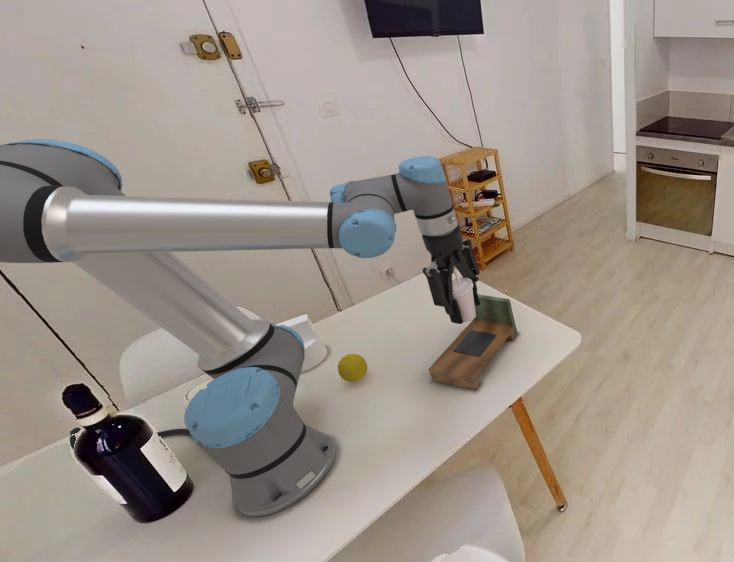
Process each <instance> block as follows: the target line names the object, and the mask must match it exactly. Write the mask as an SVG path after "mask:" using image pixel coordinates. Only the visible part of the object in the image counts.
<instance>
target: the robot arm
mask: <svg viewBox="0 0 734 562" xmlns="http://www.w3.org/2000/svg"><path fill="white" fill-rule="evenodd" d="M122 190H123V177H122V175H121V173H120V171H119V169H118V168H117V166H115V165H114V163H112V162H111V161H110V160H109V159H108V158H107V157H105V156H104V155H102V154H101V153H98V152H96V151H95V150H93V149H91V148H88V147H86V146H83V145H80V144H77V143H73V142H67V141H63V140H58V139H50V138H49V139H48V138H32V139H31V138H30V139H22V140H18V141H13V142H12V141H11V142H9V143H4V144H0V263H3V264H5V263H7V264H52V263H73V264H74V265H76V266H77V268H80V269H81V270H82V271H84V272H85V273H87V274H88V275H89V276H90V277H92V278H93V279H95V280H96V281H97V282H98V283H100V284H102V285H103V286H104V287H106V288H107V289H108V290H110V291H111V292H113V293H114V294H115V295H116V296H118V297H119V298H121V299H123V301H125V302H126V303H128V304H130V306H132V307H133V308H134V309H136V310H137V311H138V312H140V313H141V314H143V315H144V316H146V317H147V318H148V319H150V321H152V322H154V323H155V324H156V325H157V326H159V327H161V328H162V329H163V330H165V331H166V332H167V333H169V334H170V335H172V337H174V338H176V339H177V340H178V341H180V342H181V343H182V344H184V345H185V346H186V347H188V348H189V349H190V350H192V351H193V352H195V354H198V355H199V356H198V359H197V363H196V366H197V368H198V369H199V370H201V371H202V372H204V373H205V374H206V375H208V376H209V377H211V378H212V379H213V380H211V381H210V382H208V383H207V384H206V387H205V388H202V389H199V391H197V392H196V394H194V396H193V397H191V399H190V401H189V402H188V404H187V406H186V408H185V412H184V417H183V419H184V424H185V427H186V428H174V429H167V430H162V431H158V432H156V433H157V434H158V436H159V437H164V436H168V435H178V434H179V435H188V436H191V437H192V439H193V440H194V441H195V443H197V444H198V445H200V446H201V447H202V448H203V449H204V450H205V451H206V453H208V454H209V456H210V457H211V458H212V459H213V460H214V461H215V462H216V463H217V464H218V465H219V466H220V468H222V469H223V471H224V472H226V474H227V475H228V476H229V482H230V488H231V489H230V491H231V495H232V496H231V497H232V502H233V504H234V505H235V507H236V508H237V509H238V510H239V511H240V513H242V514H243V515H245V516H249V517H254V518H257V517H259V518H260V517H265V516H270V515H273V514H276V513H279V512H281V511H283V510H285V509H287V508H289V507H291V506H293V505H294V504H296V503H297V502H299V501H300V500H302V499H304V498H305V497H306V496H308V495H309V494H310V493H311V492H312V491H313V490H314V489H315V488H316V487H318V485H319V484H320V483H321V482H322V481H323V480H324V478H325V477H326V476H327V474H328V473H329V472H330V470H331V468H332V466H333V463H334V460H335V458H336V448H335V447H336V446H335V445H334V443H333V442H332V440H331V438H330V436H328V435H327V434H325V433H323V432H321V431H319V430H317V429H315V428H313V427H310V426H309V425H307V424H305V422H304V421H303V419H302V418H301V416H300V414H299V413H298V412H297V410H296V409H295V406H294V401H295V397H296V393H297V388H298V384H299V380H300V376H301V373H302V372H301V369H302V365H303V361H304V358H305V351H304V342H303V340H302V338H301V336H300V335H299V334H298V333H297V332H296V331H295V330H293V329H291V328H289V327H287V326H284V325H280V326H277V325H276V323H270V322H269V321H268V320H267V319H259V318H257V319H251V318H250V317H249V316H248V315H246V314H245V313H244V312H243V311H241V310H240V309H239V308H238V307H237V306H236V305H234V303H232V302H231V301H230V300H229V298H226V297H225V296H224V295H223V294H222V293H221V292H220V291H218V290H217V289H216V288H215V287H214V286H212V284H210V283H209V282H208V281H207V280H205V279H204V278H203V277H202V276H201V275H199V274H198V272H196V271H195V270H194V269H193V268H192V267H191V266H189V265H188V264H187V263H186V262H184V260H182V259H181V258H180V257H179V256H178V255H177V254H176V253H177V252H179V253H181V252H220V251H221V252H223V251H224V252H225V251H267V250H269V251H270V250H271V251H272V250H274V251H275V250H312V249H315V250H317V249H318V250H319V249H338V250H339V249H342V250H343V251H345V252H346V253H347V254H349V255H351V256H354V257H357V258H360V259H373V258H376V257H379V256H382V255H384V254H385V253H387V252H388V251H389V250H390V249H391V248H392V246H393V244H394V241H395V237H396V232H397V224H396V221H395V220H396V219H395V215H396V214H397V215H398V214H401V213H406V212H408V211H413V215H414V217H415V220H416V223H417V226H418V230H419V232H420V234H421V238H422V241H423V245H424V247H425V249H426V251H427V252H428V253H429V254H430V262H431V263H430V264H429V265H428V267H423V268H422V273H423V275H424V276H425V278H426V280H427V283H428V287H429V292H430V295H431V298H432V302H433V305H434V306H437V307H443V308H444V311H445V314H446V315H448V317H449V319H450V322H451V323H453V324H458V325H463V324H464V322H463V319H462V316H461V313H460V310H459V307H458V304H457V301H456V300H453V287H452V280H453V275H454V274H455V273H454V268H456V271H457V272H458V273H459V274H460V275H461V277H465V278H469V279H471V280H472V282H473V288H472V289H473V296H474V304H475V305H477V306H479V305H480V301H479V297H478V294H479V293H478V286H477V283H478V282H479V280H480V278H479V275H480V273H481V271H480V268H479V265H478V263H477V260H476V256H475V253H474V250H473V244H472V243H473V242H472V240H471V239H468V238H463V235H462V231H461V228H460V225H459V221H458V218H457V215H456V211H455V208H454V207H455V206H454V203H453V200H452V196H451V193H450V189H449V185H448V181H447V177H446V175H445V172H444V170H443V167H442V163H441V161H439V159H437V158H436V157H434V156H428V155H422V156H415V157H411V158H408V159H405V160H402V161H401V162H400V163H399V164H398V172H397V173H393V174H389V175H383V176H377V177H371V178H365V179H359V180H350V181H348V182H343V183H340V184H336V185H333V186H332V187H331V188H330V189H329V196H330V198H329V199H330V201H308V200H307V201H306V200H304V201H303V200H273V199H269V200H268V199H239V198H238V199H237V198H236V199H235V198H232V199H231V198H205V197H204V198H203V197H172V196H171V197H170V196H140V195H139V196H138V195H137V196H136V195H126V194H125V193H124V192H123V191H122ZM80 431H82V429H81V428H80V427H74V428H72V430H71V431H70V435H69V445H70V447H71V449H72V450H73V451H75V450H74V444H75V441H76V437H75V435H73V436H71V435H72V434H75V433H78V434H79V432H80ZM70 436H71V437H70Z"/></svg>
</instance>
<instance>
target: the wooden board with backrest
mask: <svg viewBox="0 0 734 562" xmlns="http://www.w3.org/2000/svg"><path fill="white" fill-rule="evenodd" d="M477 294H478V297H479V301H480V305H479V306H477V305H475V312H476V317H475V318H474V319H473V320H472V321H470V322H469V324H467V326H466V327H465V328H464V329H463V330H462V331H461V332H460V333H459V335H458V336H457V337H456V338H455V339H454V340H453V341H452V342H451V343H450V345H448V347H446V349H445V350H444V351H443V352H442V353H441V354H440V356H438V358H437V359H436V360H435V361H434V362H433V363H432V364H431V365H430V366H429V368H428V372H429V374H430V377H431V380H432V381H433V382H437V383H443V384H447V385H450V386H451V385H452V386H456V387H460V388H464V389H469V390H474V391H477V390H478V389H479V387H480V386H481V384H480V381H479V377H480V376H481V374H482V373H483V372H484V370H485V369H486V367H487V366H488V365H489V364H490V362H491V361H492V360H493V358H494V357H495V355H496V354H497V353H498V352H499V350H500V349H501V347H502V346H503V345H504V344H505V342H506V341H510V342H513V341H514V339H516V337H517V336H518V329H517V325H516V320H515V316H514V312H513V308H512V303H511V299H510V298H504V297H498V296H492V295H486V294H485V295H484V294H480V293H477Z"/></svg>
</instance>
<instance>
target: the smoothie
mask: <svg viewBox="0 0 734 562" xmlns="http://www.w3.org/2000/svg"><path fill="white" fill-rule="evenodd" d="M453 268H454V273H453V274H454V276H455V278H454V279H453V278H452V287H453V300H456V301H457V304H458V307H459V310H460V313H461V316H462V319H463V323H470V322H471V321H472V320H473V319H474V318H475V317H476V312H475V304H474V296H473V289H472V288H473V282H472V280H471V279H469V278H465V277H462V276H461V277H459V274H458V270H457V268H456V267H453Z"/></svg>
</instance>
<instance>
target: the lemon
mask: <svg viewBox="0 0 734 562" xmlns="http://www.w3.org/2000/svg"><path fill="white" fill-rule="evenodd" d="M367 363H368V362H367V361H366V359H365V358H364V357H363V356H361V355H360V354H358V353H348V354H346V355H344V356H343V357H341V358H340V360H339V362H338V364H337V372H338V374H339V376H340V377H341V379H342V380H343V381H345V382H348V383H355V382H358V381H360V380H363V378H364V377H365V376H366V374H367V372H368V364H367Z"/></svg>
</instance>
